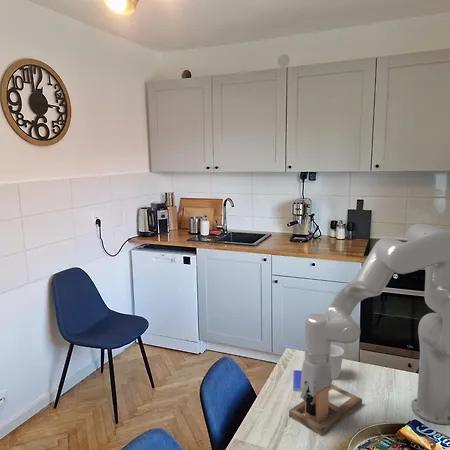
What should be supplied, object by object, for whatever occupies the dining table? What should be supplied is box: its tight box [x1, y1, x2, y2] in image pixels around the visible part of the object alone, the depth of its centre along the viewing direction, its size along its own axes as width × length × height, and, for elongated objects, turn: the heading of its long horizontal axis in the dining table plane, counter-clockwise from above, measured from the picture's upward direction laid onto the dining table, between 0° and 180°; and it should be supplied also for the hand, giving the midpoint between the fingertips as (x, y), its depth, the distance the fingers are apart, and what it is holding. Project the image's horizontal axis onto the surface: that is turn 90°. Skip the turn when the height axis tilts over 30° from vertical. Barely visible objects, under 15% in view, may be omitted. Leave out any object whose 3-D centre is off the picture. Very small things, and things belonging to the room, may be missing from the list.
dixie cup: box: [330, 344, 345, 380], centre depth 145 cm, size 8×8×10 cm
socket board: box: [288, 383, 363, 436], centre depth 126 cm, size 12×22×2 cm, turn 131°
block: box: [304, 387, 329, 424], centre depth 122 cm, size 5×5×10 cm
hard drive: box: [292, 369, 302, 393], centre depth 142 cm, size 2×8×12 cm
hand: (316, 409), depth 122 cm, fingers closed on block, 5 cm apart
